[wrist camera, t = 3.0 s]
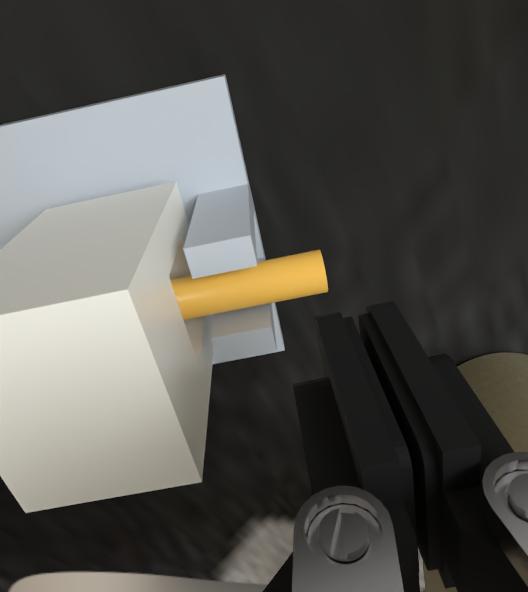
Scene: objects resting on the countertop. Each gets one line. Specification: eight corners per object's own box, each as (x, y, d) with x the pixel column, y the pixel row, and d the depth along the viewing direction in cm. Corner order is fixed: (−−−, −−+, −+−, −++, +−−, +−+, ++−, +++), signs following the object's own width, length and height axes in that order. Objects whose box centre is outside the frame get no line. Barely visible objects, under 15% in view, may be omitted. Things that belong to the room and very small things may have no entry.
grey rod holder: (323, 330, 23) (359, 458, 16) (-99, 411, 24) (-236, 562, 17) (278, 62, 18) (303, 79, 10) (-270, 185, 19) (-574, 274, 12)
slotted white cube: (216, 318, 20) (201, 481, 13) (103, 340, 21) (25, 513, 13) (176, 181, 17) (127, 289, 10) (46, 209, 18) (-96, 334, 10)
